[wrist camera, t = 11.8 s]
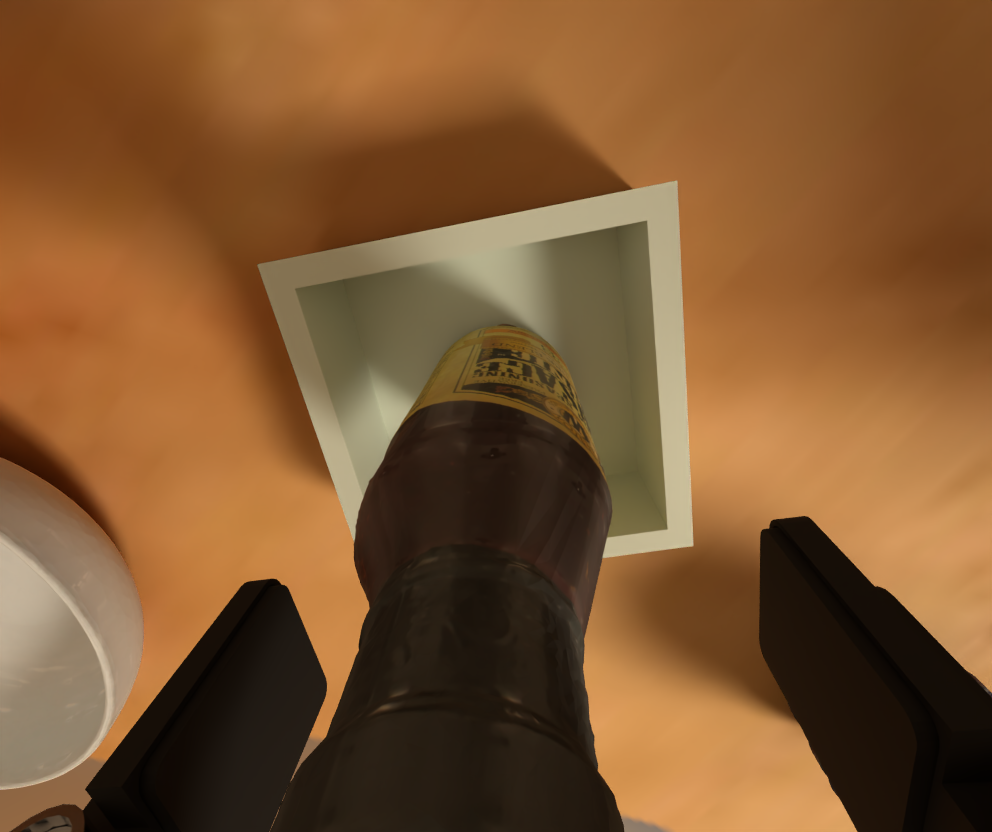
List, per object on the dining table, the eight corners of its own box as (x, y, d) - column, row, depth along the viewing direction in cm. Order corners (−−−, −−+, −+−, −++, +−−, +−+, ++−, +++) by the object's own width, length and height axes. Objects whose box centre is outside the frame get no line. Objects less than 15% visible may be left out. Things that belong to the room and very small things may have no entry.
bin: (633, 189, 21) (677, 180, 15) (655, 477, 26) (693, 545, 21) (318, 252, 22) (257, 264, 17) (397, 515, 27) (370, 589, 22)
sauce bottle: (595, 385, 23) (934, 1022, 5) (499, 466, 25) (484, 1167, 7) (498, 282, 22) (463, 663, 3) (403, 376, 23) (20, 981, 5)
